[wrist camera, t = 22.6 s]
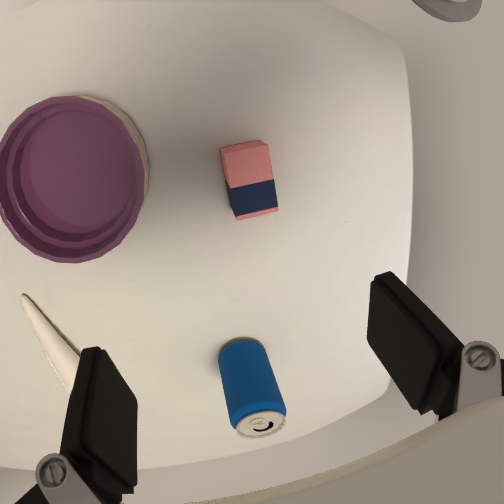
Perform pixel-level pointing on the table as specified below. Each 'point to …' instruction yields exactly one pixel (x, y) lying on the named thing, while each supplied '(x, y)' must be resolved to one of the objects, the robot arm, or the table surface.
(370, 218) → the table surface
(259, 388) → the beverage can
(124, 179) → the bowl
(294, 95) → the table surface
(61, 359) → the long cone
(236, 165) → the eraser
